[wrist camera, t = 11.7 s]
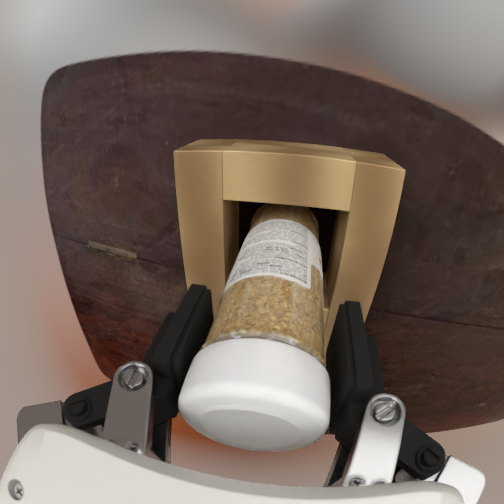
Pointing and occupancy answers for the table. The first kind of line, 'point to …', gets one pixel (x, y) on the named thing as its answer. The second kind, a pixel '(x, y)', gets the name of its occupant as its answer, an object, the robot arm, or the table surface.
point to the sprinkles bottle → (266, 342)
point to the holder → (288, 193)
